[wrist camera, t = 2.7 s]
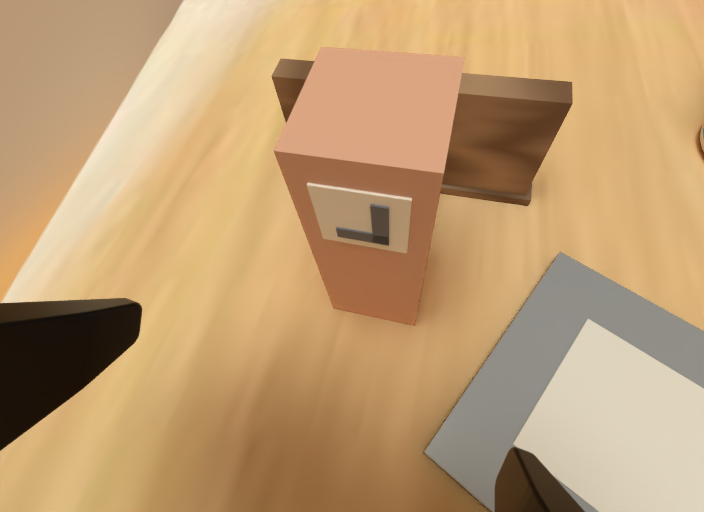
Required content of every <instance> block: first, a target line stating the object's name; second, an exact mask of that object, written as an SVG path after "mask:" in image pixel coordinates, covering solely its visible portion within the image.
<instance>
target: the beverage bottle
mask: <svg viewBox="0 0 704 512" xmlns="http://www.w3.org/2000/svg"><path fill="white" fill-rule="evenodd" d="M700 143H701V147H702V150H703V152H704V124H703V126H702V129H701V133H700Z"/></svg>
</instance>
